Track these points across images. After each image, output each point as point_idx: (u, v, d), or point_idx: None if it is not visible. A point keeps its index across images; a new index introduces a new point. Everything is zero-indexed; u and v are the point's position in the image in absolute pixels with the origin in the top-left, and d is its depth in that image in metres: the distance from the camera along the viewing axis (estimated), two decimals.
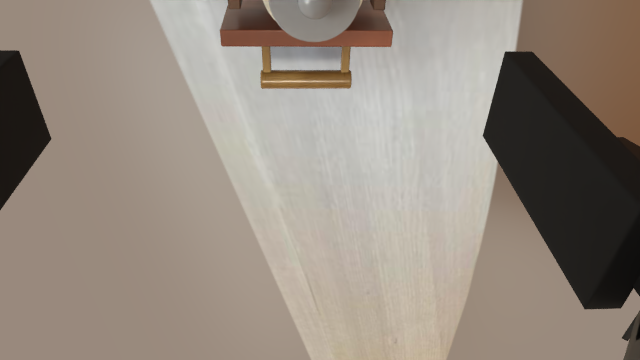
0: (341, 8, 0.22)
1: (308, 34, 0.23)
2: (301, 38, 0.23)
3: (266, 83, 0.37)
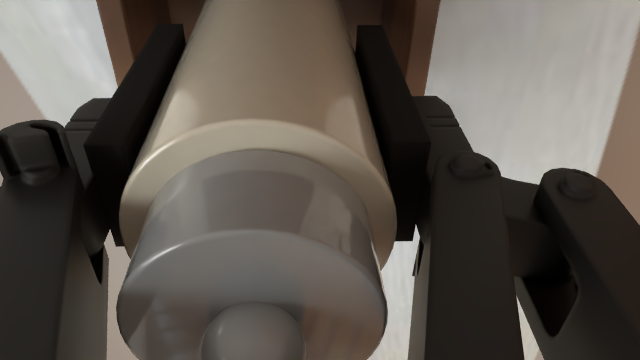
0: (333, 346, 0.08)
1: None
2: None
3: None
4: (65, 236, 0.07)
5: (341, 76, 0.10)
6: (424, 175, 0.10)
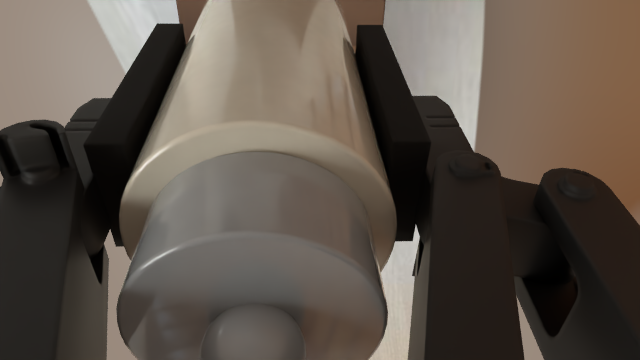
0: (334, 347, 0.08)
1: None
2: None
3: None
4: (65, 236, 0.07)
5: (342, 77, 0.10)
6: (424, 175, 0.10)
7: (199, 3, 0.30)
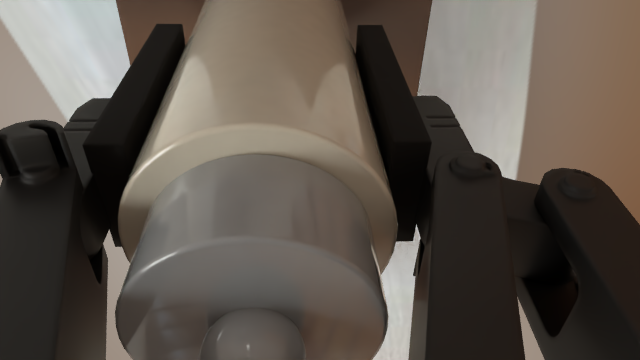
0: (334, 351, 0.08)
1: None
2: None
3: None
4: (64, 236, 0.07)
5: (342, 78, 0.10)
6: (424, 175, 0.10)
7: None
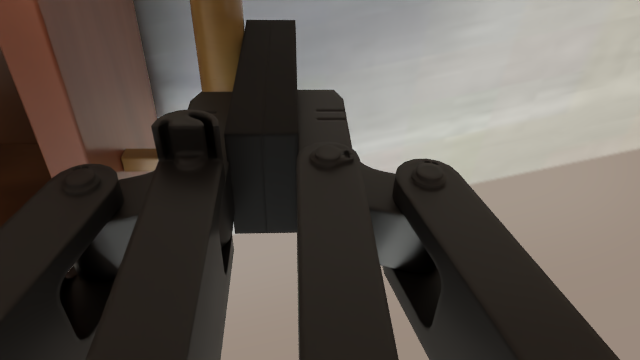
0: None
1: None
2: None
3: None
4: (207, 227, 0.08)
5: None
6: (296, 166, 0.10)
7: None
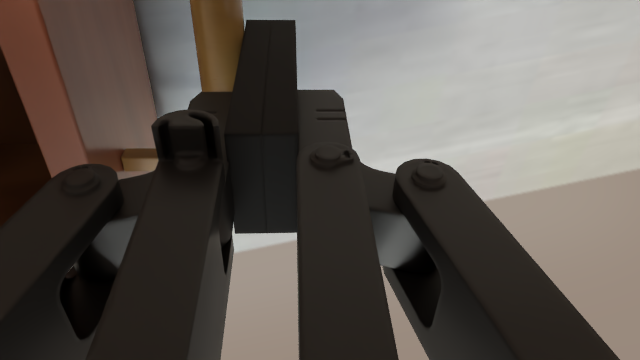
0: None
1: None
2: None
3: None
4: (207, 227, 0.08)
5: None
6: (296, 166, 0.10)
7: None
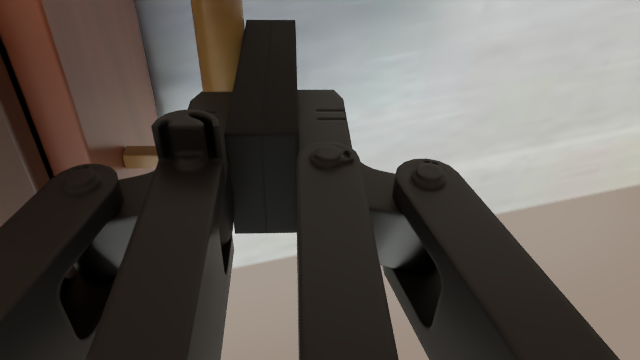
0: None
1: None
2: None
3: None
4: (206, 227, 0.08)
5: None
6: (296, 166, 0.10)
7: None
